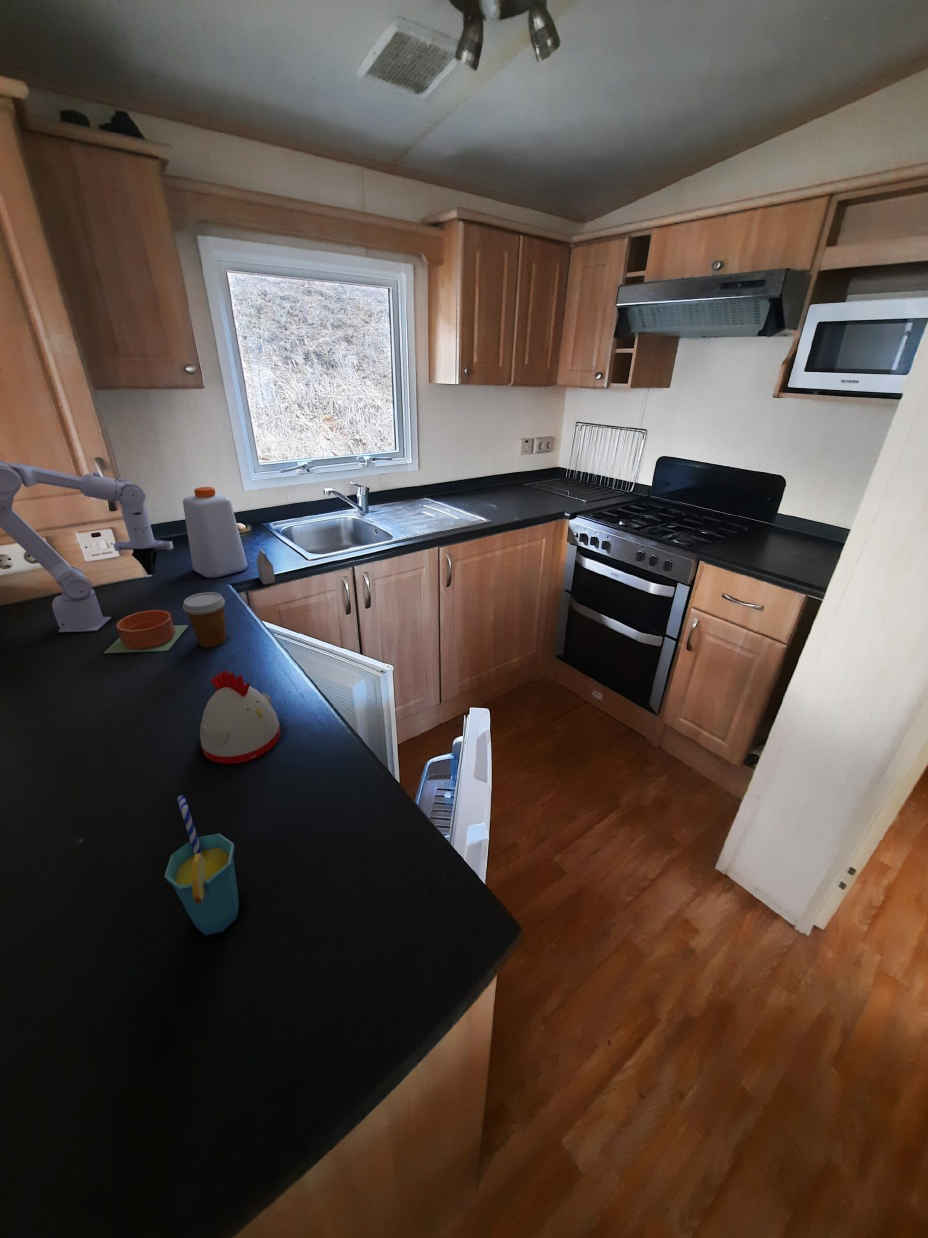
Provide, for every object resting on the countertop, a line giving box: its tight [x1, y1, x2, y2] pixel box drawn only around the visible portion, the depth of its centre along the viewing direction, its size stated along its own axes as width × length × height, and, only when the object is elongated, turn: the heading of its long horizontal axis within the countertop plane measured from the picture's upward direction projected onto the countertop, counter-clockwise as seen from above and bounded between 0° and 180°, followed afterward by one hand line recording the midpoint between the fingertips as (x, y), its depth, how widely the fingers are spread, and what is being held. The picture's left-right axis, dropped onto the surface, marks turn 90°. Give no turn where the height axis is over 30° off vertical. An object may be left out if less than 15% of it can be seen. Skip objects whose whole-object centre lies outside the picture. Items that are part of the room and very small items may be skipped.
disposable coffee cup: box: [182, 591, 227, 648], centre depth 128 cm, size 10×10×12 cm
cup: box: [163, 795, 240, 936], centre depth 63 cm, size 14×8×15 cm, turn 37°
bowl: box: [116, 609, 176, 649], centre depth 130 cm, size 12×12×6 cm
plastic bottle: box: [182, 486, 248, 579], centre depth 170 cm, size 15×15×28 cm
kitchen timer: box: [199, 669, 282, 765], centre depth 94 cm, size 14×14×15 cm
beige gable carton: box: [255, 548, 276, 585], centre depth 166 cm, size 4×7×10 cm, turn 33°
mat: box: [103, 624, 189, 654], centre depth 131 cm, size 15×14×1 cm
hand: (151, 573), depth 144 cm, fingers closed
